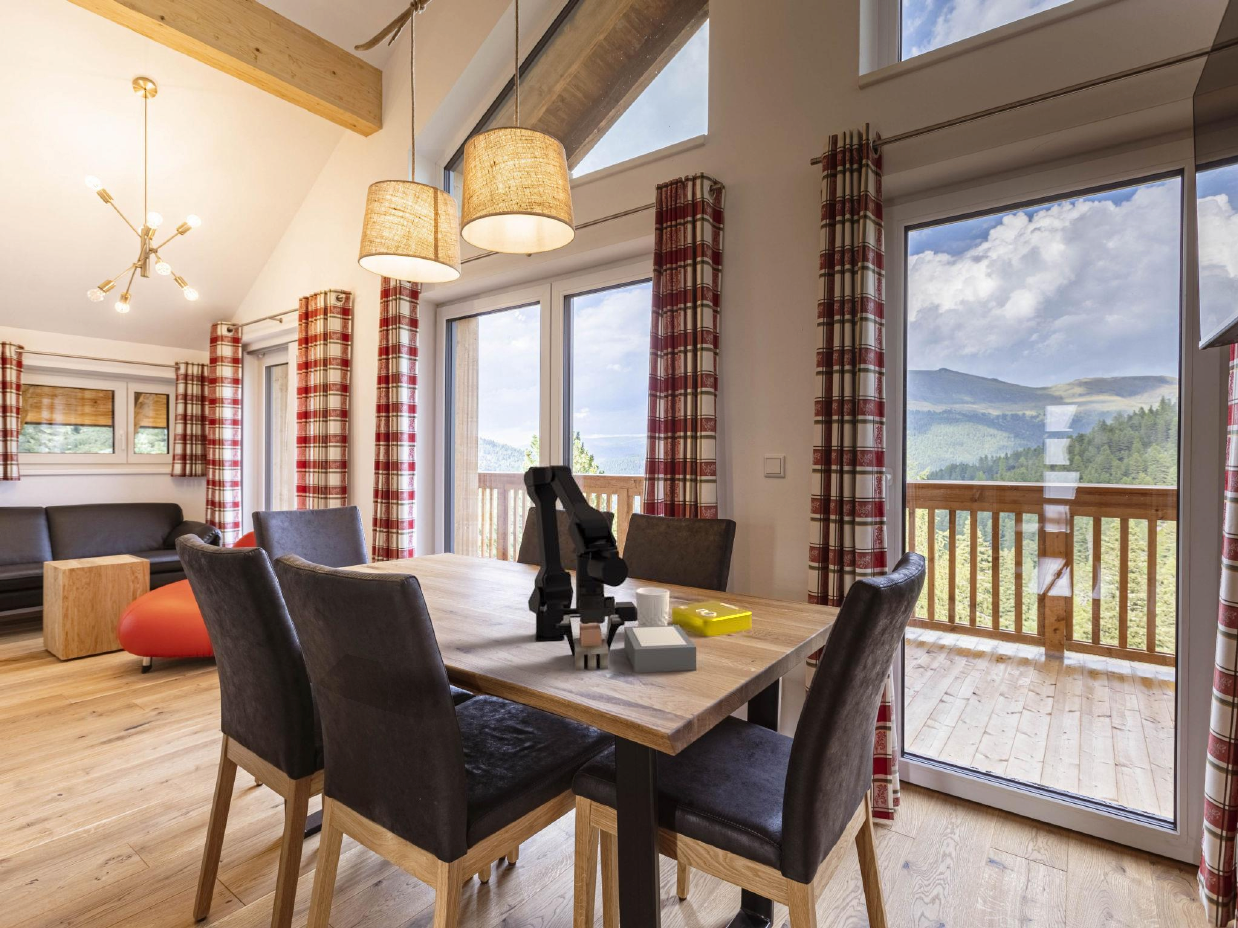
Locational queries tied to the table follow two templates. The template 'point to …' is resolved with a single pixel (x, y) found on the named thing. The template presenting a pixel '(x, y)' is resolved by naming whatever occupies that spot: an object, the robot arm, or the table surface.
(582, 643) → the orange block
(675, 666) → the dock
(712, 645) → the table surface
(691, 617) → the element tile
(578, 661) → the grey slotted block
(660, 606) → the white cup
